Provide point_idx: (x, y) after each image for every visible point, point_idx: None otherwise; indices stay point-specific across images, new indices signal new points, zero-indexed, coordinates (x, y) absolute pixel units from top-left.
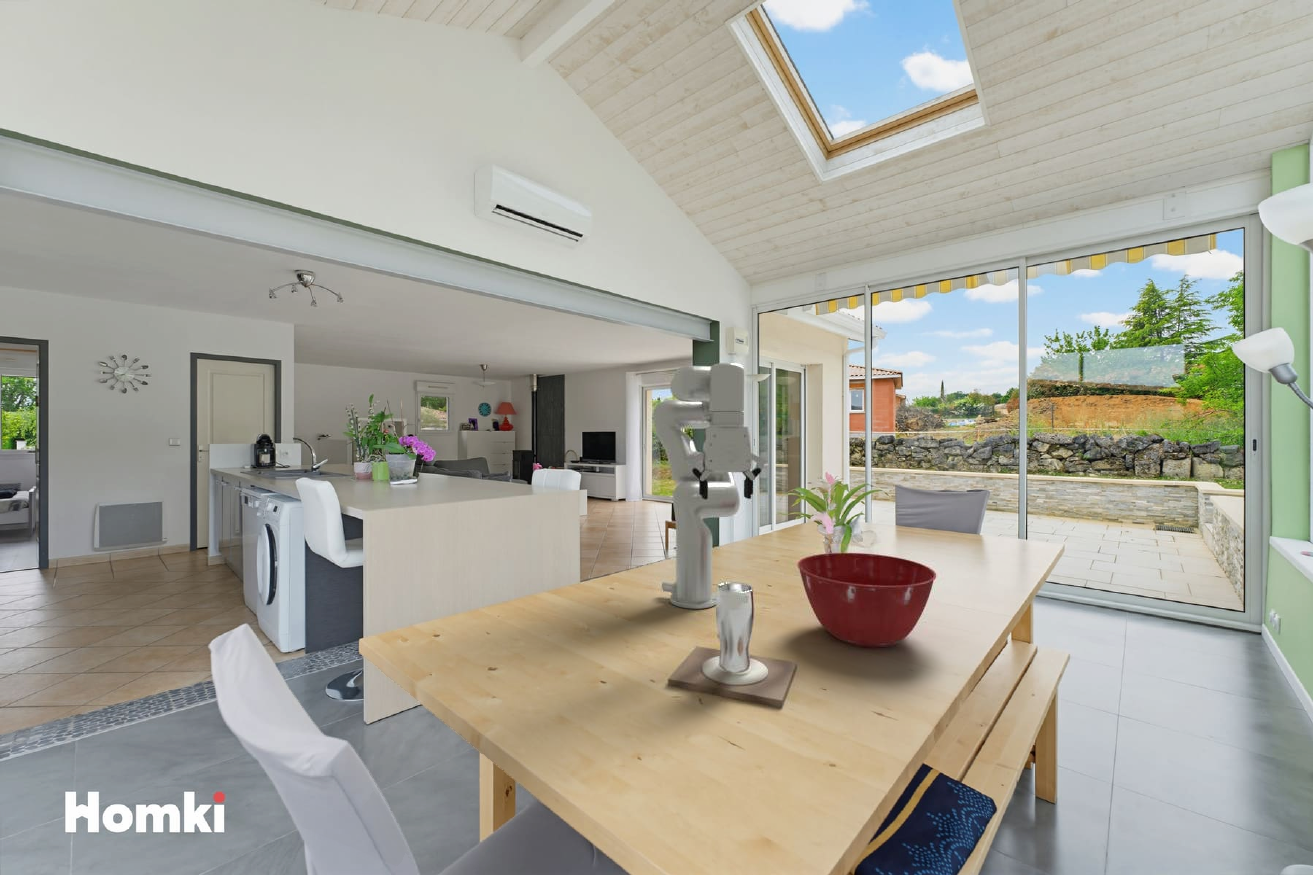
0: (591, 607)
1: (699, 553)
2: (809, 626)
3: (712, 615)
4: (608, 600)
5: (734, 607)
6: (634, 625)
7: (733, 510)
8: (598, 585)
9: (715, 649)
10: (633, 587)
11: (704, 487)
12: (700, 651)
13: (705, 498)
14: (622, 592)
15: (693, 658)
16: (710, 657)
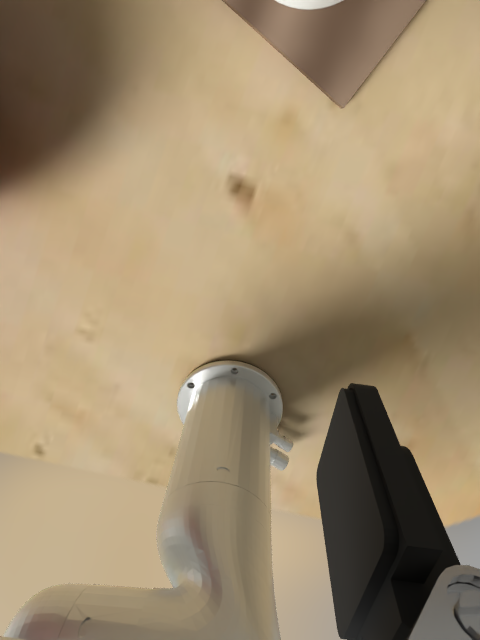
0: (453, 421)
1: (218, 462)
2: (17, 201)
3: (218, 320)
4: None
5: None
6: (410, 305)
7: (50, 594)
8: None
9: (306, 72)
10: None
11: (404, 480)
12: (349, 67)
13: (367, 385)
14: None
15: (386, 22)
16: (340, 17)
